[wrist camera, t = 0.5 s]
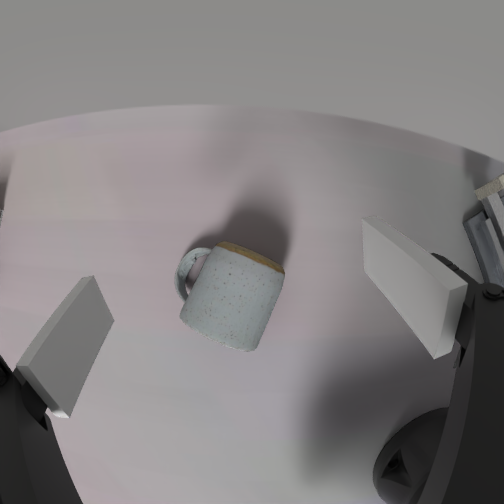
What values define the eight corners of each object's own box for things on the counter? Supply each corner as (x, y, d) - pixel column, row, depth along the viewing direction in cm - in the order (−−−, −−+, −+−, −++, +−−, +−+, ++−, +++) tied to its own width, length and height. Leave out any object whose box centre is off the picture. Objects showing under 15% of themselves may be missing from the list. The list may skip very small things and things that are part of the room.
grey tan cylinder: (290, 270, 30) (290, 264, 22) (259, 343, 29) (249, 362, 22) (197, 232, 31) (170, 216, 24) (169, 302, 31) (135, 306, 23)
